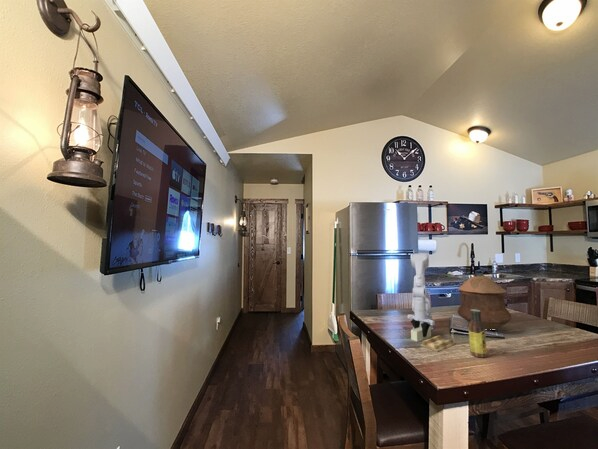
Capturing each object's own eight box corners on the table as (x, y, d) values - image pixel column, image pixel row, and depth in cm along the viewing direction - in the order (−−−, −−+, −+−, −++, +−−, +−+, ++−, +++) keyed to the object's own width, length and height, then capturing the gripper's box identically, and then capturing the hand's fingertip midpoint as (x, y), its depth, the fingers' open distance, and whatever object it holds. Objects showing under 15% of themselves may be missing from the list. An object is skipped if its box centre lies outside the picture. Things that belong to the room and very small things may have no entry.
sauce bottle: (487, 359, 112) (484, 313, 113) (470, 356, 115) (467, 311, 116) (486, 353, 117) (483, 309, 119) (469, 350, 121) (467, 307, 122)
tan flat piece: (438, 339, 135) (438, 334, 135) (454, 344, 128) (454, 339, 128) (420, 345, 128) (420, 340, 128) (437, 351, 120) (437, 346, 120)
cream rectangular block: (425, 334, 142) (424, 325, 142) (431, 336, 139) (430, 327, 139) (411, 339, 136) (410, 329, 136) (417, 341, 133) (416, 331, 133)
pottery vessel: (521, 339, 133) (518, 280, 135) (464, 334, 142) (461, 279, 144) (502, 323, 157) (498, 274, 159) (454, 320, 166) (451, 273, 168)
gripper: (403, 307, 142) (404, 332, 141) (428, 313, 130) (429, 341, 129) (411, 305, 146) (412, 330, 145) (436, 311, 133) (437, 338, 133)
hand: (421, 335), depth 137 cm, fingers closed on cream rectangular block, 3 cm apart
